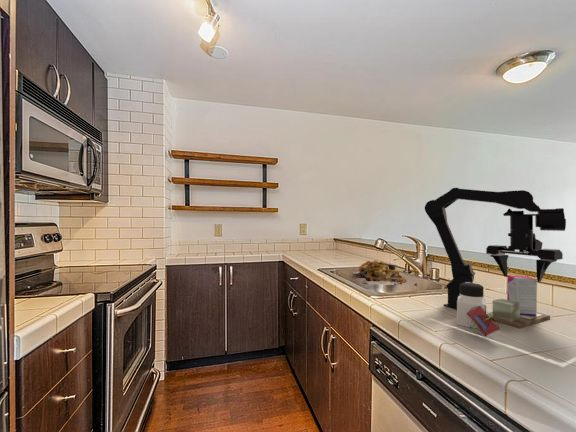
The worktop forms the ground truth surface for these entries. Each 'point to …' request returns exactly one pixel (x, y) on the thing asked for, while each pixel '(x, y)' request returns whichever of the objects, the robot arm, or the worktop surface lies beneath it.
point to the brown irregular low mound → (380, 273)
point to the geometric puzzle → (482, 320)
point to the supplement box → (523, 293)
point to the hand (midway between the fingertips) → (521, 279)
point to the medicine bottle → (469, 302)
